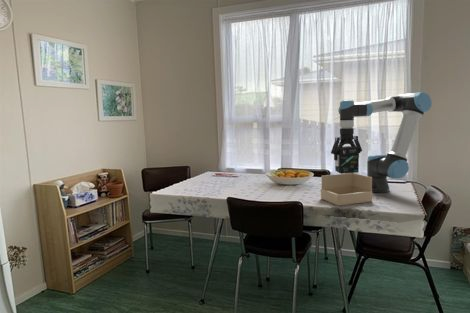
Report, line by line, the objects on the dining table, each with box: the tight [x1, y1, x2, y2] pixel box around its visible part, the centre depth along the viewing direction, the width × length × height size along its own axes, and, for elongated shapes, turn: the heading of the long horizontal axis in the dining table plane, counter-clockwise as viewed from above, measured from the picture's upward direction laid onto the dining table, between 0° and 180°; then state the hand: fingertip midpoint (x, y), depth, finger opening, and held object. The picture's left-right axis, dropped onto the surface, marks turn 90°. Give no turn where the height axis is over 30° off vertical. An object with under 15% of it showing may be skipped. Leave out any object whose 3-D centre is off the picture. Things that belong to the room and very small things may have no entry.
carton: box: [320, 173, 373, 207], centre depth 194 cm, size 22×18×14 cm
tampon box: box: [334, 145, 360, 174], centre depth 192 cm, size 11×9×15 cm
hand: (346, 165), depth 193 cm, fingers closed on tampon box, 12 cm apart
